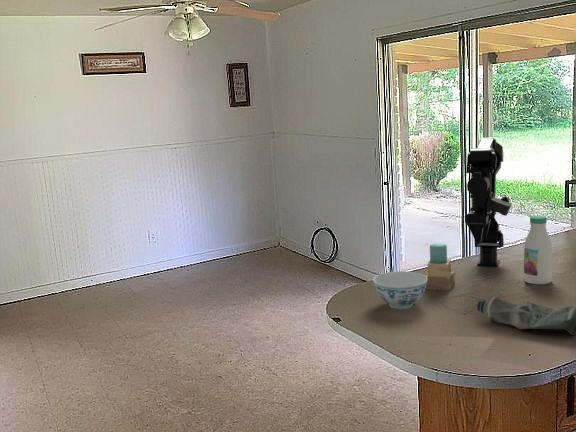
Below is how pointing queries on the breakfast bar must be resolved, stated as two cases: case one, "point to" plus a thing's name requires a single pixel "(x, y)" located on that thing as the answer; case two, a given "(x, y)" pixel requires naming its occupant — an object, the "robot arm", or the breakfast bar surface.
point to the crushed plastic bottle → (530, 315)
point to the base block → (441, 282)
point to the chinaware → (400, 288)
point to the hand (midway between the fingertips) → (481, 239)
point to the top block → (439, 269)
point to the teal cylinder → (438, 253)
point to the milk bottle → (538, 253)
